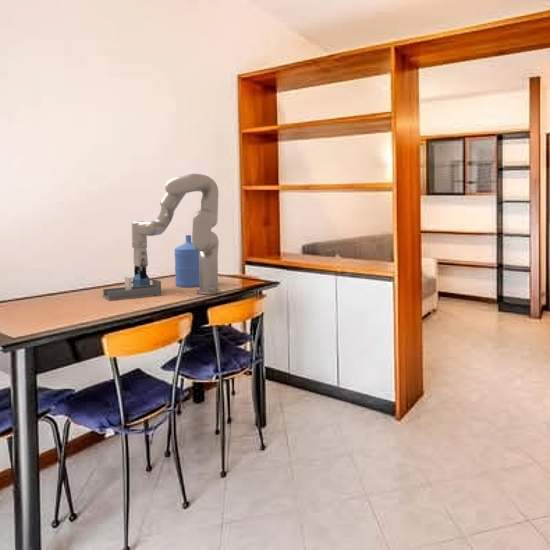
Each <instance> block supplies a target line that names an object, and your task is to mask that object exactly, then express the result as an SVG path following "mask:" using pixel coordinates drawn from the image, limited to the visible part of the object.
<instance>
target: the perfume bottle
mask: <svg viewBox="0 0 550 550" xmlns="http://www.w3.org/2000/svg"><path fill="white" fill-rule="evenodd" d="M140 271H141V270H140V268H138V274H136V275H135V276H133V278H134V279H132V286H143V285H151V279H150V277H149V275H148V274H147V273H146V278H144V279H141V278H140Z"/></svg>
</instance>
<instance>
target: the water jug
mask: <svg viewBox="0 0 550 550" xmlns="http://www.w3.org/2000/svg"><path fill="white" fill-rule="evenodd" d="M174 272H175V286H176V287H178V286H181V287H180V288H196V287H195V286H198V287H200V286H199V251H198V250H196V249H195V248H194V246H193V243H192V235H189V234H187V235H185V243H183V244H180V245H179V246H177V247H175V248H174Z"/></svg>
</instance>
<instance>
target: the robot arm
mask: <svg viewBox="0 0 550 550" xmlns="http://www.w3.org/2000/svg"><path fill="white" fill-rule="evenodd" d="M217 184H218V183H216V181H215V180H214V179H213V178H211V177H210V176H208V175H206V174H202V173H189V174H185V175H182V176H178V177H177V176H176V177H173V178H170V179H168V180H167V181H166V182H165V185H164V188H165V189H164V190H165V193H164V195H163V196H162V198H161V200H160V201H159V205H160V208H161V209H160V212H159V214H158V216H157V217H156V219H155V220H149V221H145V220H144V221H142V220H136V221H135V220H134V221H132V222H131V241H132V242H131V248H133V266H134V267H133V268H134V270H133V271H134V276H135V275H136V274H138V268H140V270H141V271H140V278H141V279H144V278H146V274H147V267H148V265H149V262H148V261H149V260H148V250H147V248H148V237H153V236H159V235H162V234H163V233H164V232H166V230H167V229H168V227H169V225H171V222H172V220H173V217H174V215H175V211H176V209H177V208H178V207H179V204H180V203H181V202H182V200H183V198H184V197H185V196H186V194H189V193H193V192H201V193H202V195H201V200H200V210H198V211H197V212H195V213H194V215H193V218H192V235H191V242H192V243H193V246H194V248H195V249H196V250H198V251H199V286H198V287H199V289H197V290H196V294H198V293H199V295H214V294H213V293H218V294H220V293H219V292H221V293H222V289H220V288H219V268H218V267H219V263H218V262H219V259H218V258H219V257H218V255H219V241H220V240H219V238H218V235H217V234H216V233H215V232H214V231H212V228H214V227H216V225H218V220H219V219H218V216H219V211H218V210H219V187H218V185H217ZM134 276H133V277H134Z"/></svg>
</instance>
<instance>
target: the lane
mask: <svg viewBox="0 0 550 550" xmlns="http://www.w3.org/2000/svg"><path fill="white" fill-rule="evenodd" d="M151 280H152V284H150V285H143V286H133V285H132V290H125V286H124V287H123V286H122V287H111V288H103V289H102V297H103V298H104V297H105V298H104V299H106V300H107V299H108V301H109V300H110V301H117V299H120V300H127V299H126V298H130V299H136V298H135V297H140V298H146V297H145V296H150V297H155V296H154V295H160V296H163V292H162V280H161V281H160V280H159V279H155V278H152V279H151Z"/></svg>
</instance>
